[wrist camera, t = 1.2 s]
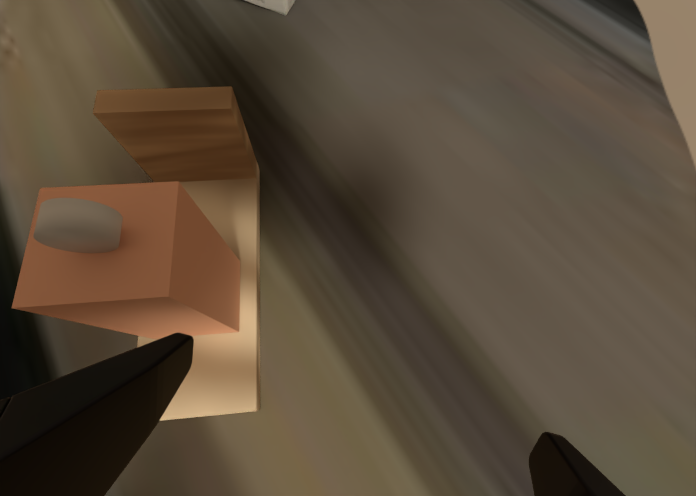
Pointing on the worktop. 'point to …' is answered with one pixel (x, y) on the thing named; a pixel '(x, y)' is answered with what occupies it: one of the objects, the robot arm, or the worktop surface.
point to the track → (219, 208)
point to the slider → (129, 261)
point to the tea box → (274, 5)
